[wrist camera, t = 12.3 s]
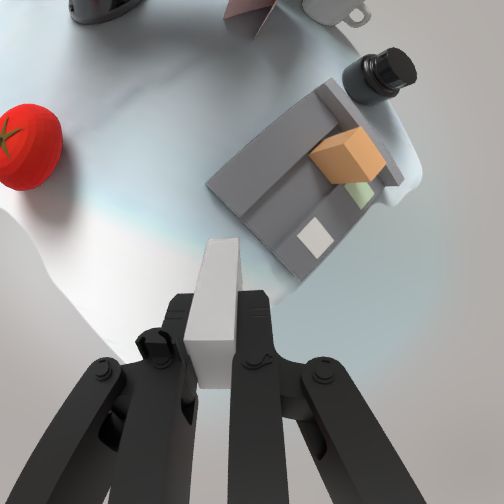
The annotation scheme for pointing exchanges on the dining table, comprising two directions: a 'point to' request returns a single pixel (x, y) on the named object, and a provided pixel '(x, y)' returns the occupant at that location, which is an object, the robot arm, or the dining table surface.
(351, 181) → the lever
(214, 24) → the dining table surface
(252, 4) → the greeting card
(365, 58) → the ink bottle
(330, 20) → the mug
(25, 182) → the tomato
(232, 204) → the breaker housing
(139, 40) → the dining table surface
